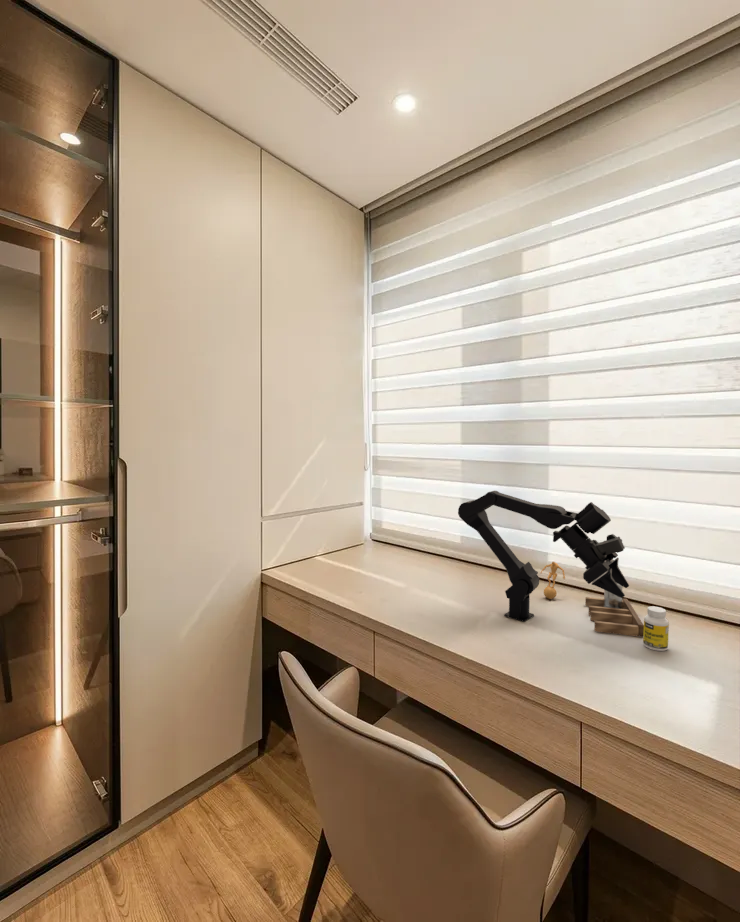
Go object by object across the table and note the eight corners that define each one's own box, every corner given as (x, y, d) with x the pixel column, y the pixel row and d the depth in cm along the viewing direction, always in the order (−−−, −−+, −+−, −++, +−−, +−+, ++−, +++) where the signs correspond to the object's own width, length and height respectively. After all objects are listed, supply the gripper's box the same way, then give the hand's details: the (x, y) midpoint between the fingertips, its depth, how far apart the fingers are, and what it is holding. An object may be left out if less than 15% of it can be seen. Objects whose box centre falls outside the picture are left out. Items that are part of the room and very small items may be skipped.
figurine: (535, 596, 154) (535, 561, 154) (543, 592, 159) (544, 557, 158) (559, 603, 148) (560, 566, 148) (567, 599, 152) (568, 562, 152)
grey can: (618, 617, 137) (619, 587, 137) (601, 612, 141) (602, 583, 140) (623, 612, 141) (624, 583, 140) (607, 608, 144) (607, 579, 144)
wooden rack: (595, 631, 127) (595, 619, 127) (585, 604, 147) (585, 594, 147) (643, 637, 124) (643, 625, 124) (626, 609, 144) (627, 598, 143)
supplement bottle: (640, 646, 118) (641, 608, 118) (646, 640, 122) (647, 603, 121) (664, 653, 114) (666, 614, 114) (670, 646, 118) (671, 608, 118)
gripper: (598, 532, 116) (648, 583, 110) (609, 520, 131) (654, 565, 125) (564, 558, 121) (610, 609, 115) (579, 544, 136) (620, 588, 130)
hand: (625, 591), depth 121 cm, fingers open, 9 cm apart
